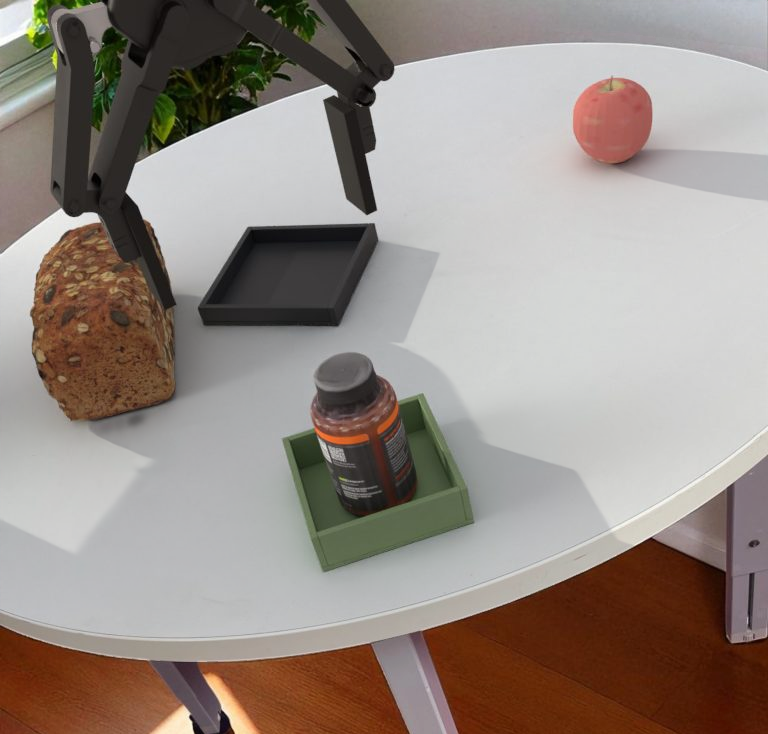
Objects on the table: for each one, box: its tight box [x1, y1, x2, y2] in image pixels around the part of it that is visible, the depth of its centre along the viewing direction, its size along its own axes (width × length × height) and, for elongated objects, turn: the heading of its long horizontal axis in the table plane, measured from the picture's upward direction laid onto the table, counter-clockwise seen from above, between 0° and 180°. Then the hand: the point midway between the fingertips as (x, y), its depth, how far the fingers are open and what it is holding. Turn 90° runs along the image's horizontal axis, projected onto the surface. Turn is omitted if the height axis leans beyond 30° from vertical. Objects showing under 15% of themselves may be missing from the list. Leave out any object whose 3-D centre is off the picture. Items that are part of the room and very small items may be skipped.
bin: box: [281, 392, 475, 573], centre depth 76 cm, size 11×11×3 cm
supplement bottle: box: [310, 351, 417, 517], centre depth 73 cm, size 6×6×11 cm
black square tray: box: [197, 222, 379, 327], centre depth 99 cm, size 13×13×2 cm
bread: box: [29, 218, 176, 422], centre depth 93 cm, size 19×11×10 cm, turn 9°
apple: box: [572, 75, 653, 164], centre depth 101 cm, size 7×7×8 cm
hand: (264, 250), depth 65 cm, fingers open, 13 cm apart
